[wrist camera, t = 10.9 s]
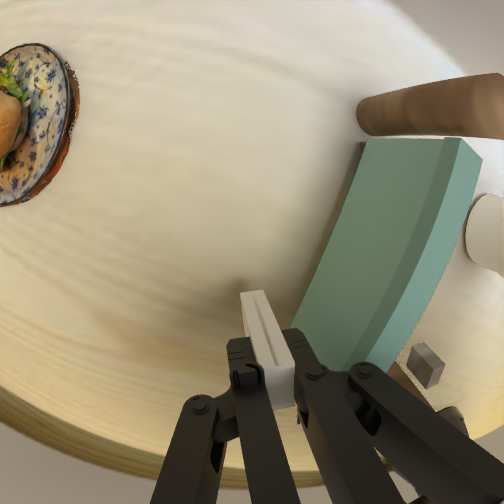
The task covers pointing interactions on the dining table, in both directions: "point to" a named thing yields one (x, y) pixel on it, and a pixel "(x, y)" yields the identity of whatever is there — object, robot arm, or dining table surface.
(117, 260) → the dining table surface
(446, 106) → the gate frame
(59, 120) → the burger
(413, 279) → the gate
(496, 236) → the water bottle
